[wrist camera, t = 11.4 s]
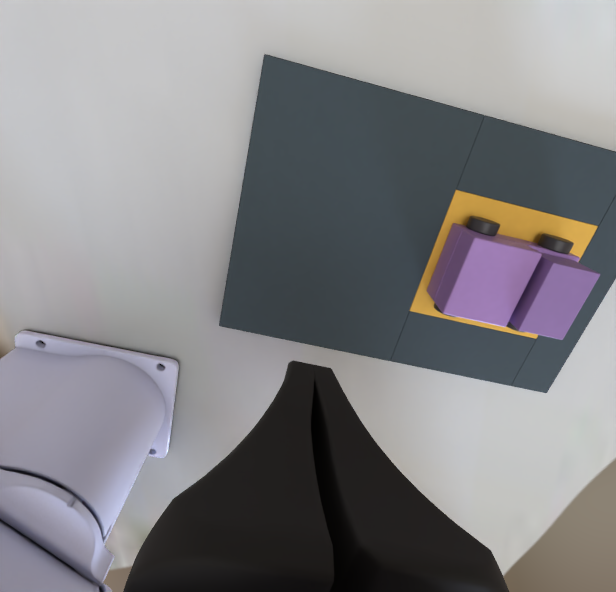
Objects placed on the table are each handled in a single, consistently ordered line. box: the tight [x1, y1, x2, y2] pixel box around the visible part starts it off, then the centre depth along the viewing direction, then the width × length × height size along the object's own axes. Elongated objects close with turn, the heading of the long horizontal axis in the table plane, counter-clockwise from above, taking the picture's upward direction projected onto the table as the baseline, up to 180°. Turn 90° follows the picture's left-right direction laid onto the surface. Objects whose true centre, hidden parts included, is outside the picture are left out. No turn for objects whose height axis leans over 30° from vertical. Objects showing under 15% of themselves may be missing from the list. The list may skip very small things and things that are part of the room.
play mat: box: [219, 54, 616, 393], centre depth 21 cm, size 21×14×1 cm, turn 77°
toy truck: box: [427, 216, 600, 340], centre depth 20 cm, size 6×5×3 cm
